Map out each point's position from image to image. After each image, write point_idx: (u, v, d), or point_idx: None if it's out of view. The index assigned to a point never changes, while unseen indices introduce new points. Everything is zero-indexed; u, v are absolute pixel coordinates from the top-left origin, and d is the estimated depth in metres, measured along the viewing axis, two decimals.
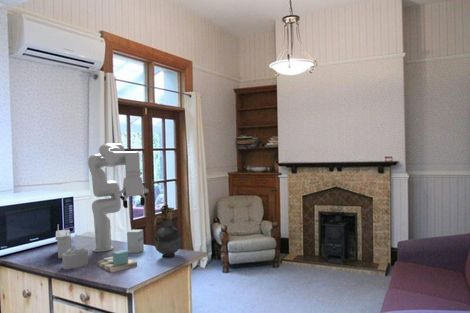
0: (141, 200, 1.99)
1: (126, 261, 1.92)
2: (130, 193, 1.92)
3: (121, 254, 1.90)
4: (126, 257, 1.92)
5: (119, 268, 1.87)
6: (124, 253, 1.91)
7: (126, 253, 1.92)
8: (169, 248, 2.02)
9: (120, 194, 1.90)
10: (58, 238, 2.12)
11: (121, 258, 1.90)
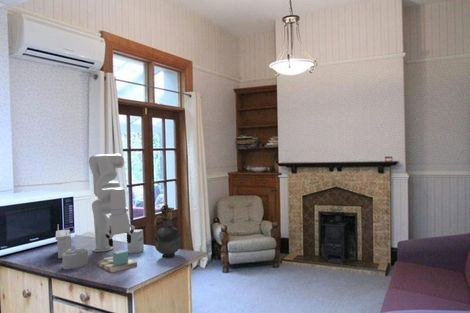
0: (127, 237, 1.95)
1: (126, 261, 1.92)
2: (116, 231, 1.88)
3: (121, 254, 1.90)
4: (126, 257, 1.92)
5: (119, 268, 1.87)
6: (124, 253, 1.91)
7: (126, 253, 1.92)
8: (169, 248, 2.02)
9: (105, 233, 1.86)
10: (58, 238, 2.12)
11: (121, 258, 1.90)
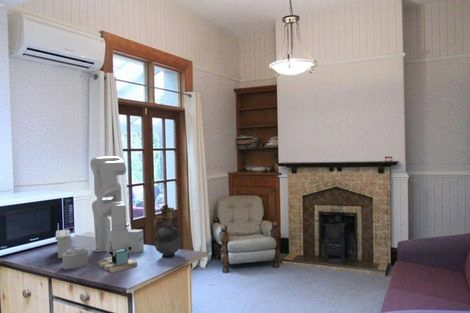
0: None
1: (126, 261, 1.92)
2: (116, 247, 1.89)
3: (121, 254, 1.90)
4: (126, 257, 1.92)
5: (119, 268, 1.87)
6: (124, 253, 1.91)
7: (126, 253, 1.92)
8: (169, 248, 2.02)
9: (108, 250, 1.88)
10: (58, 238, 2.12)
11: (121, 258, 1.90)
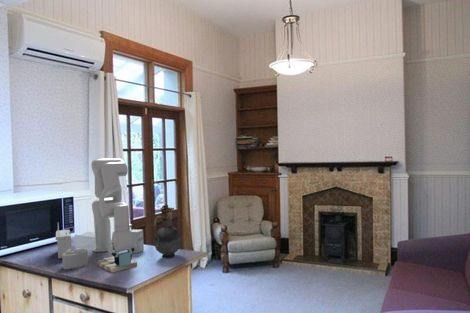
0: None
1: (129, 262, 1.90)
2: (119, 248, 1.86)
3: (124, 255, 1.88)
4: (129, 258, 1.90)
5: (119, 268, 1.87)
6: (127, 254, 1.89)
7: (129, 254, 1.90)
8: (169, 248, 2.02)
9: (111, 252, 1.85)
10: (58, 238, 2.12)
11: (124, 259, 1.88)
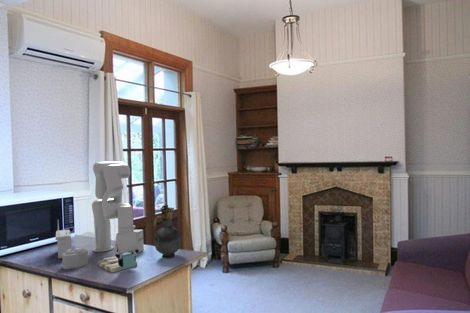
0: None
1: (133, 264, 1.86)
2: (123, 250, 1.83)
3: (128, 257, 1.84)
4: (133, 260, 1.86)
5: (119, 268, 1.87)
6: (131, 256, 1.86)
7: (133, 256, 1.86)
8: (169, 248, 2.02)
9: (114, 253, 1.82)
10: (58, 238, 2.12)
11: (128, 261, 1.84)
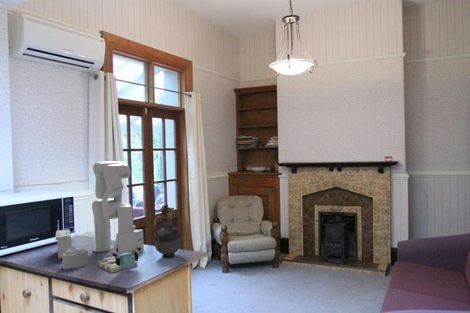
0: (135, 255, 1.90)
1: (133, 264, 1.86)
2: (123, 250, 1.83)
3: (128, 257, 1.84)
4: (133, 260, 1.86)
5: (119, 268, 1.87)
6: (131, 256, 1.85)
7: (133, 256, 1.86)
8: (169, 248, 2.02)
9: (112, 252, 1.81)
10: (58, 238, 2.12)
11: (128, 261, 1.84)
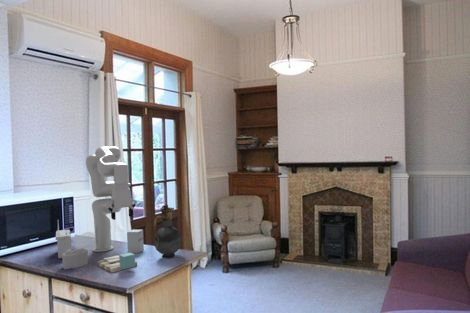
0: (129, 211, 2.02)
1: (133, 264, 1.86)
2: (118, 205, 1.95)
3: (128, 257, 1.84)
4: (133, 260, 1.86)
5: (119, 268, 1.87)
6: (131, 256, 1.85)
7: (133, 256, 1.86)
8: (169, 248, 2.02)
9: (108, 206, 1.93)
10: (58, 238, 2.12)
11: (128, 261, 1.84)
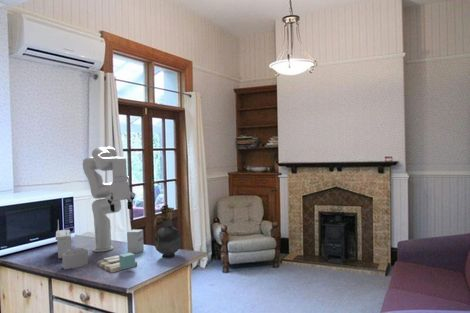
0: (128, 204, 2.07)
1: (133, 264, 1.86)
2: (117, 197, 2.00)
3: (128, 257, 1.84)
4: (133, 260, 1.86)
5: (119, 268, 1.87)
6: (131, 256, 1.85)
7: (133, 256, 1.86)
8: (169, 248, 2.02)
9: (107, 198, 1.98)
10: (58, 238, 2.12)
11: (128, 261, 1.84)
